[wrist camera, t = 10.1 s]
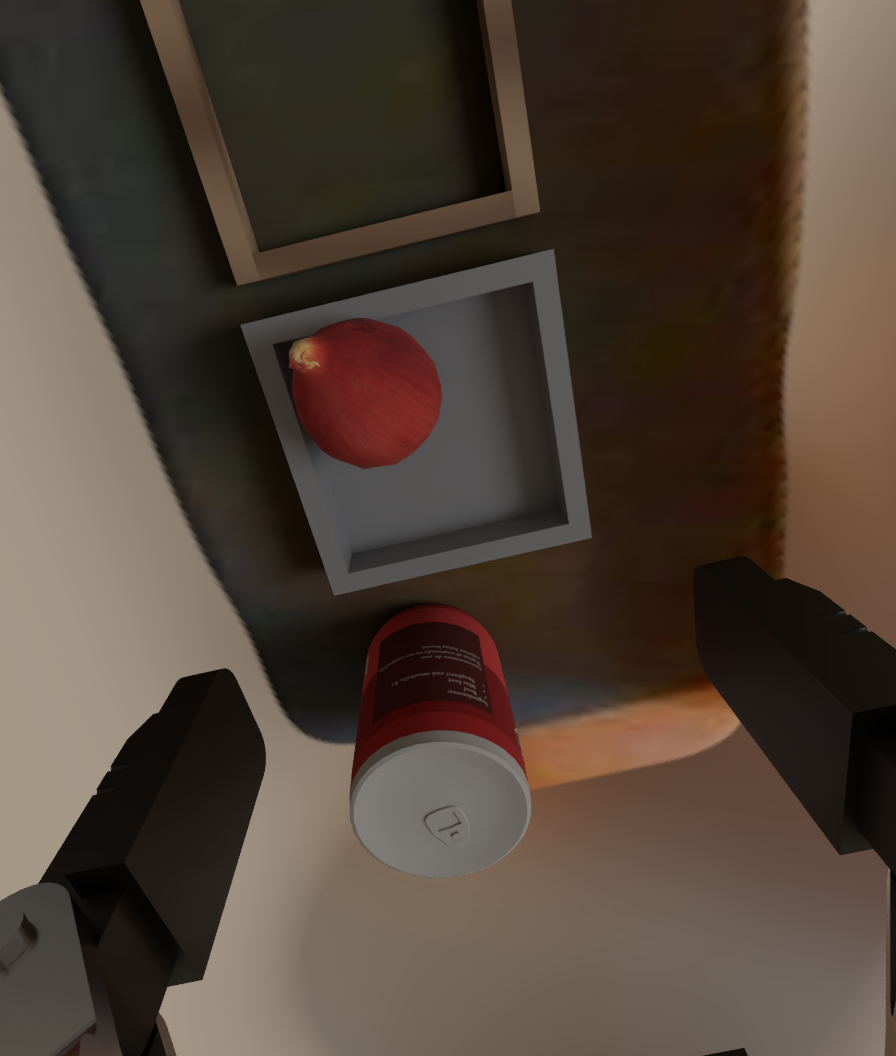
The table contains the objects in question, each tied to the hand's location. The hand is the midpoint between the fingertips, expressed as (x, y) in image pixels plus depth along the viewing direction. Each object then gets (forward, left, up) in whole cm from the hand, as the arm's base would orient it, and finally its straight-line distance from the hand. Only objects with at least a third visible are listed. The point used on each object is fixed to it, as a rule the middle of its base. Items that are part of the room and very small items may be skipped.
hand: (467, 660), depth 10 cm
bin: (+1, 0, -20) cm, 20 cm away
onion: (0, -1, -18) cm, 18 cm away
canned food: (+14, -3, -20) cm, 25 cm away
